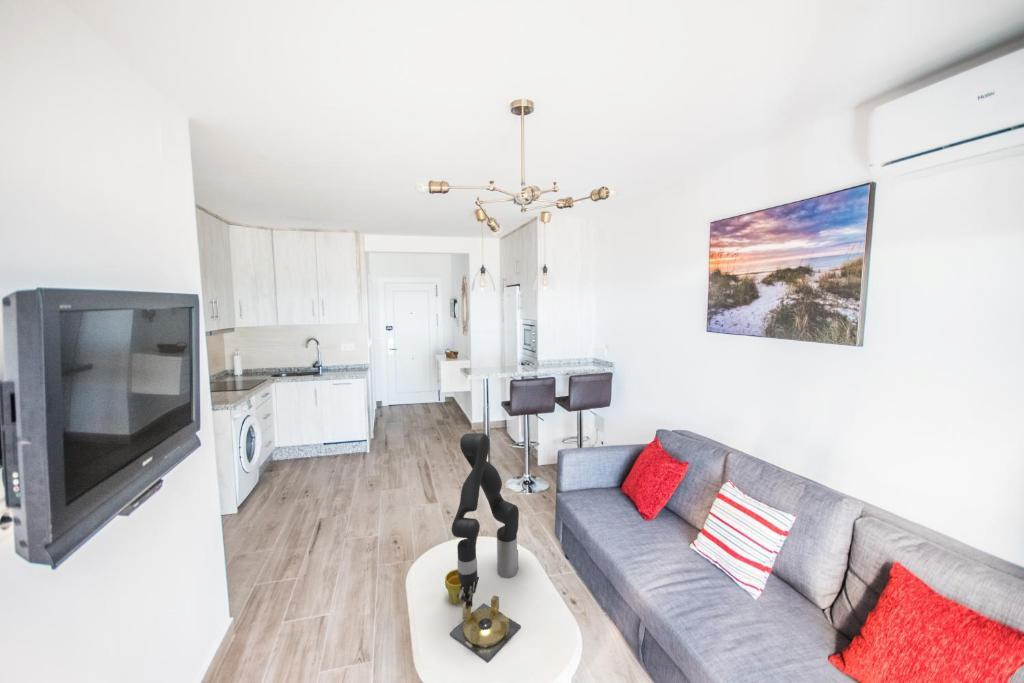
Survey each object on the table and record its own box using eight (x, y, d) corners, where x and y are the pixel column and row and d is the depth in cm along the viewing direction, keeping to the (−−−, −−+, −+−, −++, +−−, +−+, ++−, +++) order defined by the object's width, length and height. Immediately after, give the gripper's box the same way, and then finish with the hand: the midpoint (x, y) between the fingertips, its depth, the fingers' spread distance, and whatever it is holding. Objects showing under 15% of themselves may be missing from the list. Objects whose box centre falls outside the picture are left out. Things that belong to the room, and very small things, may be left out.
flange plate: (483, 605, 171) (483, 602, 170) (520, 627, 159) (520, 624, 159) (449, 635, 156) (449, 632, 155) (487, 662, 144) (487, 659, 144)
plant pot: (465, 608, 169) (465, 586, 168) (441, 605, 171) (441, 583, 170) (473, 591, 179) (472, 570, 178) (450, 588, 181) (450, 567, 180)
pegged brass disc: (476, 604, 169) (475, 589, 169) (517, 618, 162) (517, 603, 161) (451, 638, 152) (450, 622, 152) (496, 656, 145) (496, 639, 144)
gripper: (468, 554, 167) (469, 592, 169) (449, 575, 155) (451, 616, 158) (484, 559, 164) (485, 598, 166) (466, 581, 152) (468, 622, 154)
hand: (469, 606), depth 162 cm, fingers closed
